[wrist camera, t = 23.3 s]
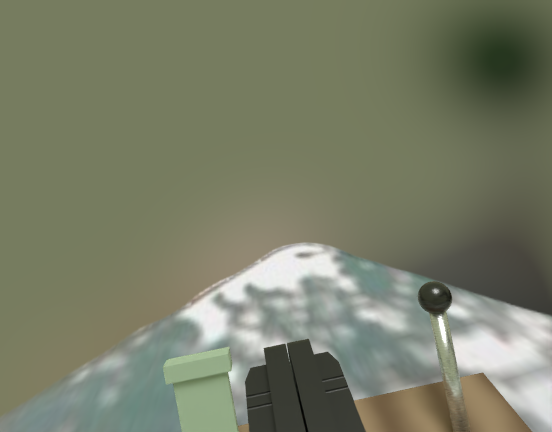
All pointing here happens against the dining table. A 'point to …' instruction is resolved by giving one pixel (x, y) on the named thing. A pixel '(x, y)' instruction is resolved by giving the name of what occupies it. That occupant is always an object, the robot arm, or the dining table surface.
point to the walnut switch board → (437, 409)
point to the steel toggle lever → (445, 350)
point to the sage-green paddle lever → (203, 391)
